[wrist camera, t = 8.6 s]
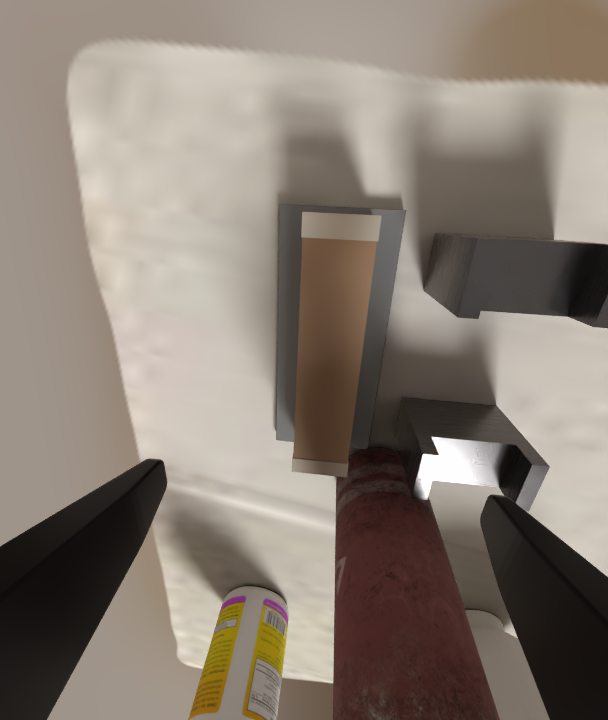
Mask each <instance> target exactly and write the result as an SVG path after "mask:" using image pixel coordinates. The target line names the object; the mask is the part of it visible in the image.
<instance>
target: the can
mask: <svg viewBox="0 0 608 720" xmlns="http://www.w3.org/2000/svg"><path fill="white" fill-rule="evenodd" d="M348 463H349V465H348V472H347V477H338V476H337V481H336V545H335V614H334V682H333V687H334V688H333V720H500V718H499V715H498V712H497V709H496V706H495V702H494V699H493V696H492V693H491V690H490V687H489V684H488V681H487V678H486V674H485V671H484V668H483V665H482V662H481V659H480V656H479V653H478V649H477V646H476V643H475V640H474V637H473V634H472V631H471V628H470V625H469V621H468V618H467V615H466V612H465V609H464V606H463V603H462V600H461V597H460V593H459V590H458V587H457V584H456V581H455V578H454V575H453V572H452V569H451V565H450V562H449V559H448V556H447V553H446V550H445V547H444V544H443V540H442V537H441V534H440V531H439V528H438V525H437V522H436V519H435V516H434V512H433V509H432V506H431V503H430V500H429V497H428V498H427V500H423V499H414V498H412V497H411V494H410V490H409V486H408V483H407V479H406V475H405V472H404V468H403V464H402V461H401V457H400V453H398V452H396V451H394V450H391V449H385V448H371V449H366V450H363V451H360V452H357V453H356V454H354V455H353V456H352V457H350V458H349V459H348Z"/></svg>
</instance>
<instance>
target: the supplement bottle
mask: <svg viewBox="0 0 608 720" xmlns="http://www.w3.org/2000/svg"><path fill="white" fill-rule="evenodd" d="M287 627H288V608H287V605H286V603H285V602H284V600H283V599H282V598H281V597H280V596H279V595H277V594H276V593H274V592H272V591H270V590H267V589H264V588H260V587H254V586H245V587H240V588H237V589H234V590H233V591H231V592H230V593H229V594H228V595H227V596H226V597H225V599H224V601H223V604H222V607H221V610H220V614H219V617H218V620H217V624H216V627H215V631H214V634H213V638H212V641H211V644H210V648H209V651H208V654H207V658H206V661H205V665H204V668H203V672H202V675H201V678H200V682H199V685H198V689H197V692H196V696H195V699H194V703H193V706H192V710H191V713H190V716H189V719H188V720H277V712H278V704H279V694H280V687H281V679H282V670H283V661H284V653H285V645H286V636H287Z"/></svg>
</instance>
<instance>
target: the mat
mask: <svg viewBox="0 0 608 720" xmlns="http://www.w3.org/2000/svg"><path fill="white" fill-rule="evenodd" d="M302 212H317V213H338V214H359V215H380V216H382V217H381V225H380V232H379V240H378V241H377V245H376V252H375V260H374V267H373V275H372V283H371V290H370V298H369V305H368V313H367V321H366V328H365V336H364V343H363V351H362V359H361V366H360V374H359V381H358V389H357V397H356V404H355V412H354V419H353V427H352V435H351V442H350V448H360V449H367V448H368V442H369V436H370V430H371V424H372V418H373V411H374V405H375V399H376V393H377V387H378V381H379V374H380V368H381V362H382V356H383V350H384V344H385V338H386V331H387V325H388V319H389V313H390V307H391V301H392V294H393V288H394V282H395V276H396V270H397V264H398V257H399V251H400V245H401V239H402V233H403V227H404V221H405V214H406V210H388V209H367V208H347V207H326V206H305V205H285V204H280V218H279V288H278V359H277V429H276V440H281V441H291V442H294V432H295V408H296V383H297V359H298V334H299V310H300V286H301V261H302V237H301V230H302Z"/></svg>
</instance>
